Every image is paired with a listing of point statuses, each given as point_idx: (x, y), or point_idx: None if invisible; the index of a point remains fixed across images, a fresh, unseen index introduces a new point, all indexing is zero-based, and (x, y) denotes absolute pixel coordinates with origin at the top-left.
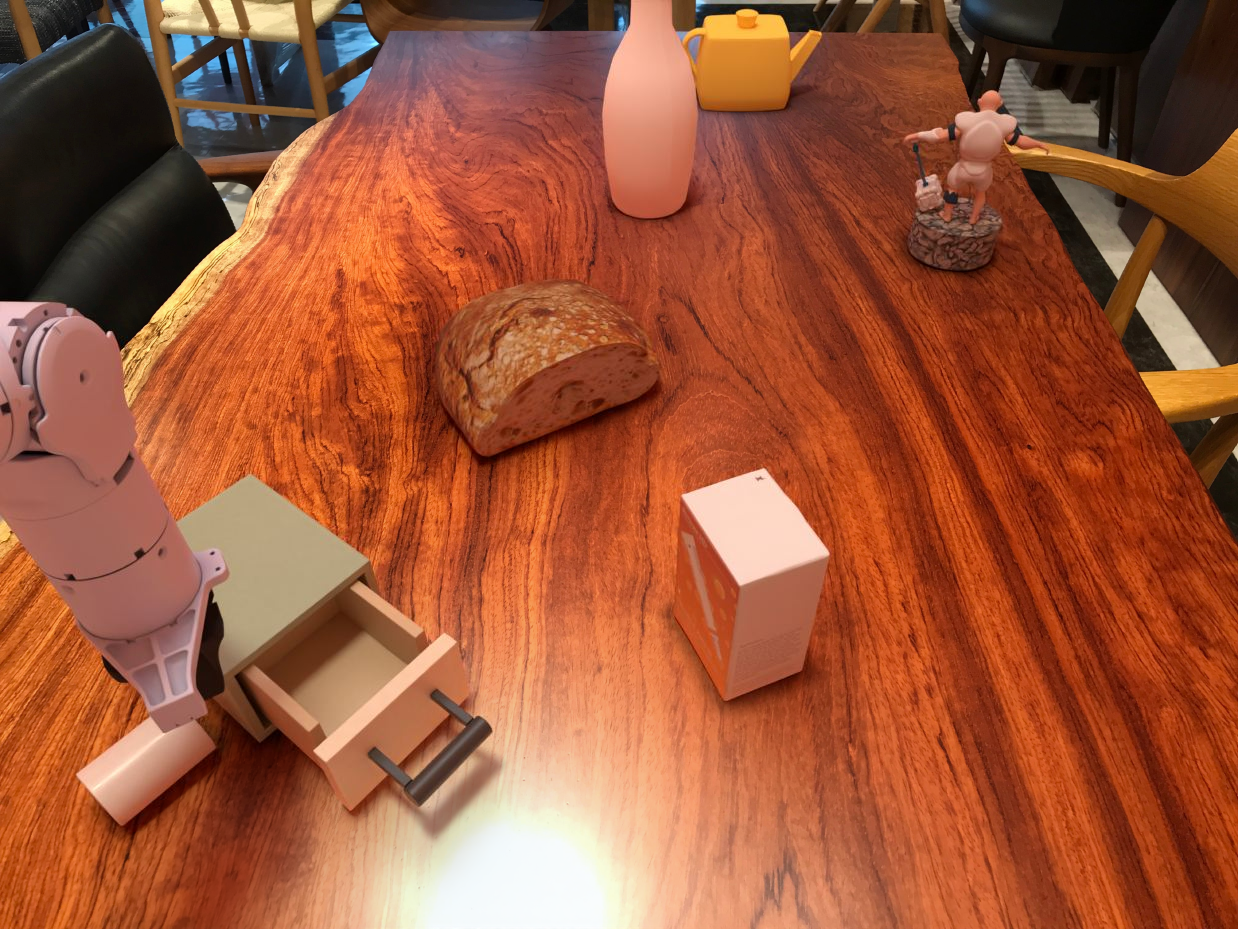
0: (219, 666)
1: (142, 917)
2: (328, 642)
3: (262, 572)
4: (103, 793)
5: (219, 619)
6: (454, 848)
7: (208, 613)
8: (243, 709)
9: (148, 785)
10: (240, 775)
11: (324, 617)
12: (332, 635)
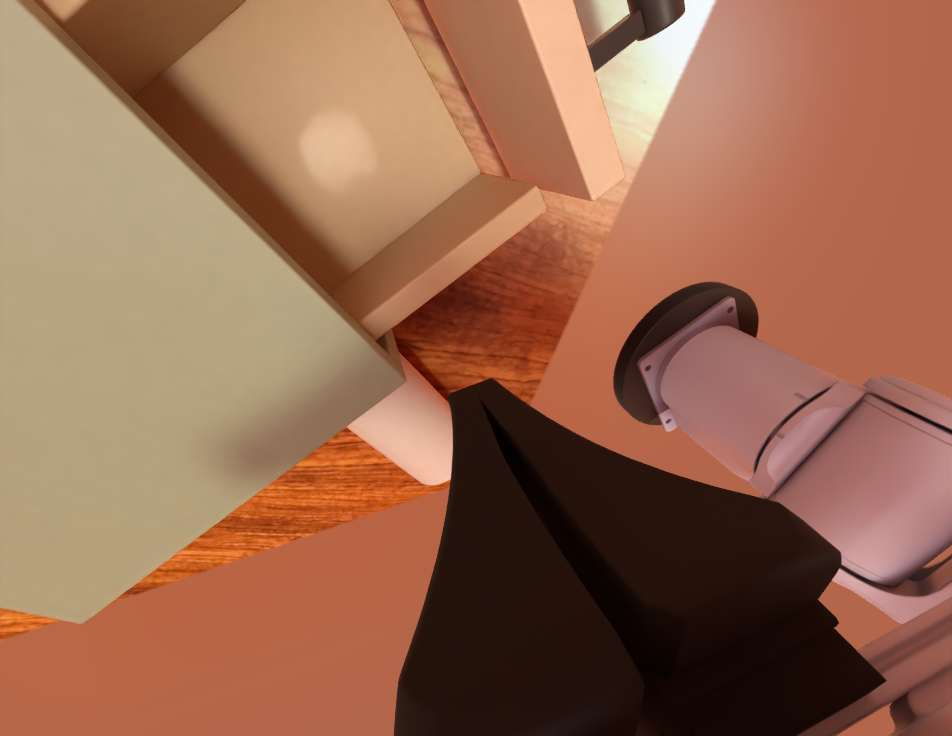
0: (554, 421)
1: (539, 381)
2: (205, 170)
3: (37, 332)
4: None
5: (794, 571)
6: (626, 5)
7: (726, 616)
8: None
9: (450, 414)
10: (423, 313)
11: None
12: None
